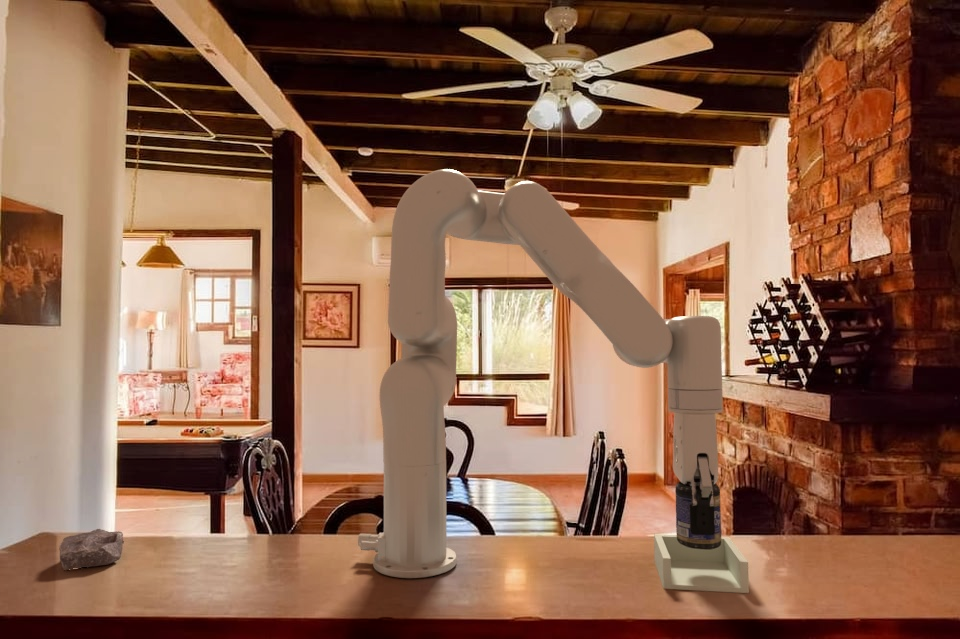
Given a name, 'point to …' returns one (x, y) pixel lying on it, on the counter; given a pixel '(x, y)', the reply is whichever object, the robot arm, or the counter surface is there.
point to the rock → (91, 549)
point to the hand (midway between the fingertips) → (697, 525)
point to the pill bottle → (684, 519)
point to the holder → (700, 566)
